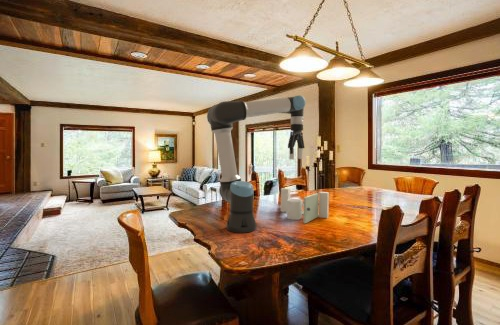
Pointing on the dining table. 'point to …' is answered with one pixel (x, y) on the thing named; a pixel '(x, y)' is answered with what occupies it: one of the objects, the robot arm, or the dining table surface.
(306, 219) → the door
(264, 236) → the dining table surface
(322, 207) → the wall frame
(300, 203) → the mug
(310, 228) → the dining table surface
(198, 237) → the dining table surface
